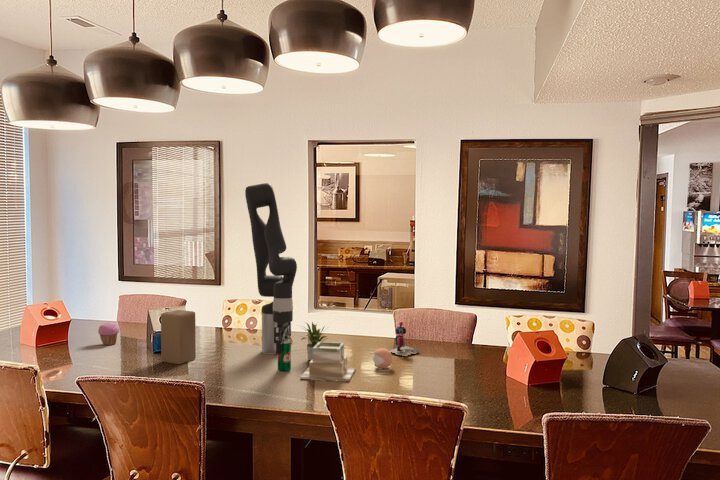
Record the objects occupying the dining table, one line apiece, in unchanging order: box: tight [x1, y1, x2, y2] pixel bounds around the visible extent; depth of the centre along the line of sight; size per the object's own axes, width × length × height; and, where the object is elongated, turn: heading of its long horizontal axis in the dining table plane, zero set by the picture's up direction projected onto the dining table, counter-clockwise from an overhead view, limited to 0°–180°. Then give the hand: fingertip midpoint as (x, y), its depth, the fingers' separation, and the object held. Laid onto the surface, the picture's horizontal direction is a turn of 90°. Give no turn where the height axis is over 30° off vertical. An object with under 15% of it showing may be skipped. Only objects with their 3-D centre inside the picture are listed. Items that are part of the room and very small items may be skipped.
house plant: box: [296, 321, 330, 361], centre depth 230 cm, size 14×14×16 cm
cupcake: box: [97, 322, 120, 346], centre depth 254 cm, size 9×9×10 cm
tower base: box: [300, 341, 356, 382], centre depth 209 cm, size 15×18×11 cm
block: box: [160, 309, 197, 365], centre depth 227 cm, size 10×10×20 cm
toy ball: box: [372, 347, 393, 369], centre depth 218 cm, size 8×8×8 cm
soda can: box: [277, 338, 292, 373], centre depth 215 cm, size 5×5×12 cm
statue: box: [389, 320, 421, 356], centre depth 241 cm, size 11×9×15 cm
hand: (282, 351), depth 214 cm, fingers open, 8 cm apart
